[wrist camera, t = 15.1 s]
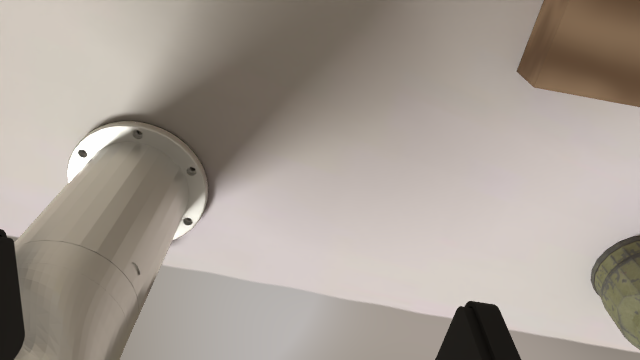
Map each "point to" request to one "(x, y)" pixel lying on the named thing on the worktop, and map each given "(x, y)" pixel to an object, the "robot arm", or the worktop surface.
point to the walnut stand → (586, 49)
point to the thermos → (621, 286)
